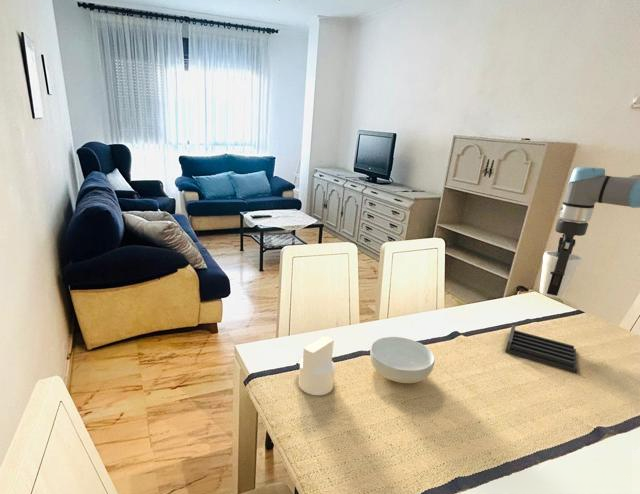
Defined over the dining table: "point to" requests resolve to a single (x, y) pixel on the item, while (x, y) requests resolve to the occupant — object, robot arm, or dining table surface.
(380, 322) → the dining table surface
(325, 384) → the base with upright slab
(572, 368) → the drying rack
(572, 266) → the foam cup
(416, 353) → the cereal bowl
